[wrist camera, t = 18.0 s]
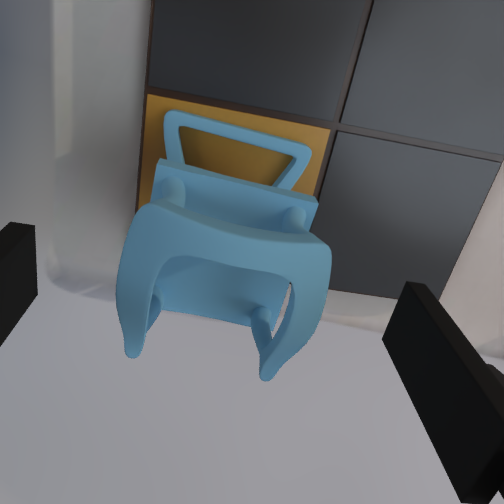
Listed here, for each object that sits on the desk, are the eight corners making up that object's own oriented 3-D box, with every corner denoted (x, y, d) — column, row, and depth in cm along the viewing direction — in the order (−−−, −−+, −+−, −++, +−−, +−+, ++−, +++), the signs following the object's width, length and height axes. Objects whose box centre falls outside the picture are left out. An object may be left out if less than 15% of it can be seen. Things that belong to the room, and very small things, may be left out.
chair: (143, 247, 25) (79, 404, 15) (167, 105, 22) (108, 175, 11) (268, 274, 27) (293, 436, 16) (311, 144, 23) (381, 240, 12)
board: (167, -163, 18) (163, -175, 17) (586, -50, 21) (606, -54, 20) (134, 253, 27) (130, 262, 26) (430, 297, 29) (438, 307, 28)
